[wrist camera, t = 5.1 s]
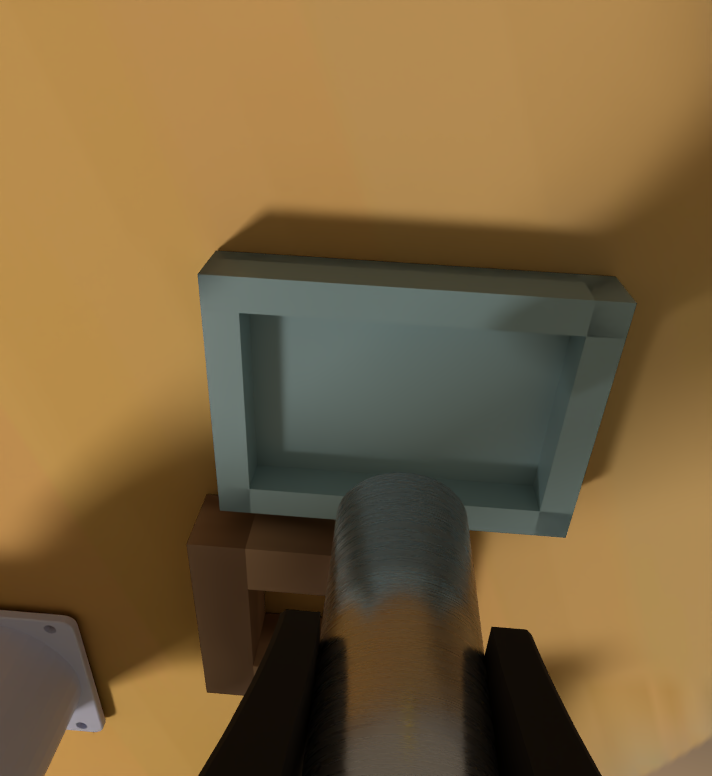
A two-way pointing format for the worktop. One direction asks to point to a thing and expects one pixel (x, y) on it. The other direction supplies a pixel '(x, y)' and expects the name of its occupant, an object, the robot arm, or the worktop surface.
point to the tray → (407, 382)
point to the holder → (249, 583)
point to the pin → (401, 640)
